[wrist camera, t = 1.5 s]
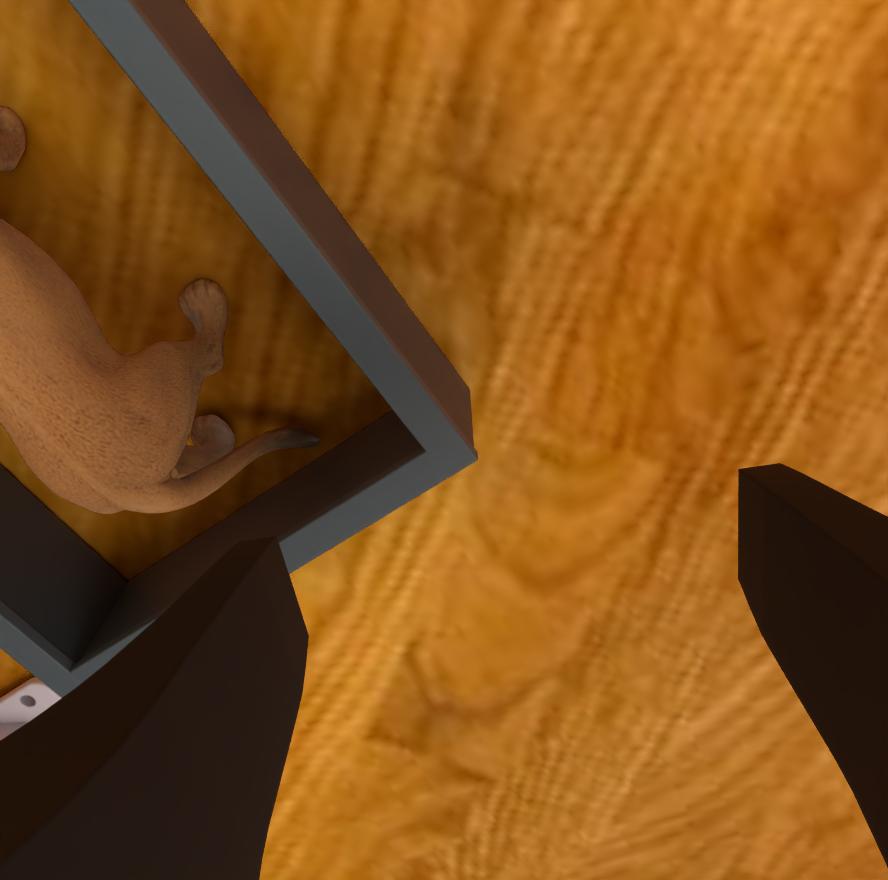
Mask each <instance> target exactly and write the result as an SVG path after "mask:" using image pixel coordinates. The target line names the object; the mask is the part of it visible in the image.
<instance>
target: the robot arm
mask: <svg viewBox="0 0 888 880" xmlns="http://www.w3.org/2000/svg"><path fill="white" fill-rule="evenodd" d="M738 579H739V582H740V584H741V587H742V589H743V592H744V594H745V597H746V599H747V602H748V604H749V607H750V609H751V611H752V614H753V616H754V618H755V621H756V623H757V625H758V627H759V630H760V632H761V634H762V636H763V638H764V640H765V641H766V643H767V645H768V647H769V648H770V650H771V652H772V654H773V655H774V657H775V659H776V660H777V662H778V664H779V666H780V667H781V669H782V671H783V672H784V674H785V676H786V678H787V679H788V681H789V683H790V684H791V686H792V688H793V689H794V691H795V693H796V694H797V696H798V698H799V699H800V701H801V703H802V704H803V706H804V708H805V709H806V711H807V713H808V714H809V716H810V718H811V719H812V721H813V723H814V725H815V726H816V728H817V730H818V731H819V733H820V735H821V736H822V738H823V740H824V741H825V743H826V745H827V746H828V748H829V750H830V751H831V753H832V755H833V756H834V758H835V760H836V762H837V763H838V765H839V767H840V769H841V771H842V773H843V775H844V776H845V778H846V780H847V782H848V784H849V786H850V788H851V789H852V791H853V793H854V796H855V798H856V800H857V802H858V804H859V806H860V808H861V811H862V813H863V815H864V817H865V819H866V821H867V824H868V826H869V828H870V830H871V832H872V834H873V836H874V839H875V841H876V843H877V845H878V847H879V849H880V852H881V854H882V856H883V858H884V860H885V862H886V865H887V867H888V517H887V516H885V515H883V514H881V513H879V512H877V511H875V510H873V509H871V508H869V507H867V506H865V505H863V504H861V503H859V502H857V501H855V500H853V499H851V498H849V497H847V496H845V495H843V494H842V493H840V492H838V491H836V490H834V489H832V488H830V487H828V486H826V485H824V484H822V483H820V482H818V481H816V480H814V479H812V478H810V477H808V476H807V475H805V474H803V473H800V472H798V471H796V470H794V469H792V468H790V467H788V466H785V465H783V464H780V463H778V464H771V465H764V466H757V467H750V468H743V469H739V491H738ZM308 637H309V635H308V632H307V629H306V626H305V623H304V620H303V616H302V613H301V610H300V607H299V604H298V601H297V598H296V595H295V591H294V588H293V585H292V582H291V579H290V576H289V573H288V570H287V567H286V563H285V560H284V557H283V554H282V551H281V548H280V545H279V542H278V538H277V536H271V537H264V538H257V539H250V540H244V541H239V542H238V543H237V544H235V545H234V546H233V547H232V548H231V549H230V550H228V551H227V552H226V553H225V554H224V555H223V556H222V557H221V558H220V559H219V560H218V561H216V562H215V563H214V564H213V565H212V566H211V567H210V568H209V569H208V570H207V571H206V572H205V573H204V574H203V575H202V576H201V577H200V578H199V579H198V580H197V581H196V582H195V583H194V584H193V585H192V586H191V587H190V588H188V589H187V590H186V591H185V592H184V593H183V594H182V595H181V596H180V597H179V598H178V599H177V600H176V601H175V602H174V603H173V604H172V605H171V606H170V607H169V608H168V609H166V610H165V611H164V612H163V613H162V614H161V615H160V616H159V617H158V618H157V619H156V620H155V621H154V622H153V623H151V624H150V625H149V626H148V627H147V628H146V629H145V630H143V631H142V632H141V633H140V634H139V635H138V636H137V637H136V638H134V639H133V640H132V641H131V642H130V643H129V644H128V645H126V646H125V647H124V648H123V649H122V650H121V651H120V652H118V653H117V654H116V655H115V656H114V657H113V658H112V659H111V660H109V661H108V662H107V663H106V664H105V665H103V666H102V667H101V668H100V669H99V670H97V671H96V672H95V673H94V674H92V675H91V676H90V677H89V678H87V679H86V680H85V681H84V682H82V683H81V684H80V685H79V686H77V687H76V688H75V689H73V690H72V691H71V692H69V693H68V694H67V695H65V696H64V697H62V698H61V697H60V696H59V695H58V694H56V693H55V692H54V691H53V690H51V689H50V688H49V687H48V686H47V685H45V684H44V683H43V682H42V681H40V680H39V679H38V678H37V677H34V678H31V679H30V680H28V681H26V682H25V683H23V684H22V685H20V686H18V687H17V688H15V689H14V690H12V691H10V692H9V693H7V694H6V695H4V696H3V697H1V698H0V880H259V877H260V870H261V863H262V857H263V852H264V847H265V842H266V838H267V833H268V828H269V824H270V820H271V816H272V812H273V808H274V804H275V800H276V796H277V793H278V789H279V785H280V781H281V777H282V773H283V769H284V765H285V761H286V757H287V754H288V750H289V746H290V742H291V738H292V734H293V730H294V726H295V722H296V718H297V714H298V710H299V705H300V701H301V697H302V692H303V684H304V676H305V668H306V658H307V648H308ZM30 696H31V697H30ZM32 697H33V698H32Z"/></svg>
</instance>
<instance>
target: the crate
mask: <svg viewBox="0 0 888 880" xmlns="http://www.w3.org/2000/svg"><path fill="white" fill-rule="evenodd" d="M68 1H69V2H70V3H71V5H72V6H73V7H74V9H75V10H76V11H77V12H78V14H79V15H80V16H81V17H82V19H83V20H84V21H85V22H86V24H87V25H88V26H89V27H90V29H91V30H92V31H93V32H94V34H95V35H96V36H97V38H98V39H99V40H100V41H101V43H102V44H103V45H104V46H105V48H106V49H107V50H108V51H109V53H110V54H111V55H112V56H113V58H114V59H115V60H116V61H117V63H118V64H119V65H120V67H121V68H122V69H123V70H124V72H125V73H126V74H127V75H128V77H129V78H130V79H131V80H132V82H133V83H134V84H135V85H136V87H137V88H138V89H139V90H140V92H141V93H142V94H143V96H144V97H145V98H146V99H147V101H148V102H149V103H150V104H151V106H152V107H153V108H154V109H155V111H156V112H157V113H158V114H159V116H160V117H161V118H162V119H163V121H164V122H165V123H166V124H167V126H168V127H169V128H170V130H171V131H172V132H173V133H174V135H175V136H176V137H177V138H178V140H179V141H180V142H181V143H182V145H183V146H184V147H185V148H186V150H187V151H188V152H189V153H190V155H191V156H192V157H193V159H194V160H195V161H196V162H197V164H198V165H199V166H200V167H201V169H202V170H203V171H204V172H205V174H206V175H207V176H208V177H209V179H210V180H211V181H212V182H213V184H214V185H215V186H216V188H217V189H218V190H219V191H220V193H221V194H222V195H223V196H224V198H225V199H226V200H227V201H228V203H229V204H230V205H231V206H232V208H233V209H234V210H235V211H236V213H237V214H238V215H239V217H240V218H241V219H242V220H243V222H244V223H245V224H246V225H247V227H248V228H249V229H250V230H251V232H252V233H253V234H254V235H255V237H256V238H257V239H258V240H259V242H260V243H261V244H262V246H263V247H264V248H265V249H266V251H267V252H268V253H269V254H270V256H271V257H272V258H273V259H274V261H275V262H276V263H277V264H278V266H279V267H280V268H281V269H282V271H283V272H284V273H285V275H286V276H287V277H288V278H289V280H290V281H291V282H292V283H293V285H294V286H295V287H296V288H297V290H298V291H299V292H300V293H301V295H302V296H303V297H304V298H305V300H306V301H307V302H308V303H309V305H310V306H311V307H312V309H313V310H314V311H315V312H316V314H317V315H318V316H319V317H320V319H321V320H322V321H323V322H324V324H325V325H326V326H327V327H328V329H329V330H330V331H331V332H332V334H333V335H334V336H335V338H336V339H337V340H338V341H339V343H340V344H341V345H342V346H343V348H344V349H345V350H346V351H347V353H348V354H349V355H350V356H351V358H352V359H353V360H354V361H355V363H356V364H357V365H358V367H359V368H360V369H361V370H362V372H363V373H364V374H365V375H366V377H367V378H368V379H369V380H370V382H371V383H372V384H373V385H374V387H375V388H376V389H377V390H378V392H379V393H380V394H381V396H382V397H383V398H384V399H385V401H386V402H387V403H388V404H389V406H390V407H391V408H392V409H393V410H392V411H390V412H389V413H387V414H385V415H384V416H382V417H381V418H379V419H378V420H376V421H375V422H373V423H372V424H370V425H368V426H367V427H365V428H364V429H362V430H361V431H359V432H358V433H356V434H355V435H353V436H351V437H350V438H348V439H347V440H345V441H344V442H342V443H341V444H339V445H338V446H336V447H334V448H333V449H331V450H330V451H328V452H327V453H325V454H324V455H322V456H321V457H319V458H317V459H316V460H314V461H313V462H311V463H310V464H308V465H307V466H305V467H304V468H302V469H300V470H299V471H297V472H296V473H294V474H293V475H291V476H290V477H288V478H287V479H285V480H283V481H282V482H280V483H279V484H277V485H276V486H274V487H273V488H271V489H270V490H268V491H266V492H265V493H263V494H262V495H260V496H259V497H257V498H256V499H254V500H253V501H251V502H249V503H248V504H246V505H245V506H243V507H242V508H240V509H239V510H237V511H236V512H234V513H232V514H231V515H229V516H228V517H226V518H225V519H223V520H222V521H220V522H219V523H217V524H215V525H214V526H212V527H211V528H209V529H208V530H206V531H205V532H203V533H202V534H200V535H198V536H197V537H195V538H194V539H192V540H191V541H189V542H188V543H186V544H185V545H183V546H181V547H180V548H178V549H177V550H175V551H174V552H172V553H171V554H169V555H168V556H166V557H164V558H163V559H161V560H160V561H158V562H157V563H155V564H154V565H152V566H151V567H149V568H147V569H146V570H144V571H143V572H141V573H140V574H138V575H137V576H135V577H134V578H132V579H130V580H129V581H128V582H127V581H126V580H125V579H124V578H123V577H122V576H120V575H119V574H118V573H117V572H116V571H115V570H114V569H113V568H112V567H111V566H110V565H109V564H107V563H106V562H105V561H104V560H103V559H102V558H101V557H100V556H99V555H98V554H97V553H96V552H94V551H93V550H92V549H91V548H90V547H89V546H88V545H87V544H86V543H85V542H84V541H83V540H81V539H80V538H79V537H78V536H77V535H76V534H75V533H74V532H73V531H72V530H71V529H70V528H68V527H67V526H66V525H65V524H64V523H63V522H62V521H61V520H60V519H59V518H58V517H57V516H55V515H54V514H53V513H52V512H51V511H50V510H49V509H48V508H47V507H46V506H45V505H44V504H42V503H41V502H40V501H39V500H38V499H37V498H36V497H35V496H34V495H33V494H32V493H31V492H29V491H28V490H27V489H26V488H25V487H24V486H23V485H22V484H21V483H20V482H19V481H18V480H16V479H15V478H14V477H13V476H12V475H11V474H10V473H9V472H8V471H7V470H6V469H5V468H3V467H2V466H1V465H0V648H1V649H2V650H3V651H5V652H6V653H7V654H8V655H10V656H11V657H12V658H13V659H14V660H16V661H17V662H18V663H19V664H21V665H22V666H23V667H24V668H26V669H27V670H28V671H29V672H30V673H32V674H33V675H34V676H35V677H37V678H38V679H39V680H40V681H42V682H43V683H44V684H45V685H47V686H48V687H49V688H50V689H51V690H53V691H54V692H55V693H56V694H58V695H59V696H60V697H61V698H62V697H64V696H65V695H67V694H68V693H69V692H71V691H72V690H73V689H75V688H76V687H77V686H79V685H80V684H81V683H82V682H84V681H85V680H86V679H87V678H89V677H90V676H91V675H92V674H94V673H95V672H96V671H97V670H99V669H100V668H101V667H102V666H103V665H105V664H106V663H107V662H108V661H109V660H111V659H112V658H113V657H114V656H115V655H116V654H117V653H118V652H120V651H121V650H122V649H123V648H124V647H125V646H126V645H128V644H129V643H130V642H131V641H132V640H133V639H134V638H136V637H137V636H138V635H139V634H140V633H141V632H142V631H143V630H145V629H146V628H147V627H148V626H149V625H150V624H151V623H153V622H154V621H155V620H156V619H157V618H158V617H159V616H160V615H161V614H162V613H163V612H164V611H165V610H166V609H168V608H169V607H170V606H171V605H172V604H173V603H174V602H175V601H176V600H177V599H178V598H179V597H180V596H181V595H182V594H183V593H184V592H185V591H186V590H187V589H188V588H190V587H191V586H192V585H193V584H194V583H195V582H196V581H197V580H198V579H199V578H200V577H201V576H202V575H203V574H204V573H205V572H206V571H207V570H208V569H209V568H210V567H211V566H212V565H213V564H214V563H215V562H216V561H218V560H219V559H220V558H221V557H222V556H223V555H224V554H225V553H226V552H227V551H228V550H230V549H231V548H232V547H233V546H234V545H235V544H237V543H238V542H239V541H244V540H250V539H257V538H264V537H271V536H277V538H278V542H279V545H280V548H281V551H282V554H283V557H284V560H285V563H286V567H287V570H288V573H289V574H290V573H291V572H293V571H295V570H296V569H298V568H300V567H301V566H303V565H305V564H306V563H308V562H310V561H311V560H313V559H315V558H316V557H318V556H320V555H321V554H323V553H325V552H326V551H328V550H330V549H331V548H333V547H334V546H336V545H338V544H339V543H341V542H343V541H344V540H346V539H348V538H349V537H351V536H353V535H354V534H356V533H358V532H359V531H361V530H363V529H364V528H366V527H368V526H369V525H371V524H373V523H374V522H376V521H378V520H379V519H381V518H382V517H384V516H386V515H387V514H389V513H391V512H392V511H394V510H396V509H397V508H399V507H401V506H402V505H404V504H406V503H407V502H409V501H411V500H412V499H414V498H416V497H417V496H419V495H421V494H422V493H424V492H426V491H427V490H429V489H430V488H432V487H434V486H435V485H437V484H439V483H440V482H442V481H444V480H445V479H447V478H449V477H450V476H452V475H454V474H455V473H457V472H459V471H460V470H462V469H464V468H465V467H467V466H469V465H470V464H472V463H474V462H475V461H477V460H478V453H477V451H476V450H475V448H474V442H473V428H472V414H471V400H470V389H469V388H468V386H467V385H466V384H465V382H464V381H463V380H462V378H461V377H460V376H459V374H458V373H457V371H456V370H455V369H454V367H453V366H452V365H451V363H450V362H449V361H448V359H447V358H446V357H445V355H444V354H443V352H442V351H441V350H440V348H439V347H438V346H437V344H436V343H435V342H434V340H433V339H432V337H431V336H430V335H429V333H428V332H427V331H426V329H425V328H424V327H423V325H422V324H421V322H420V321H419V320H418V318H417V317H416V316H415V314H414V313H413V312H412V310H411V309H410V307H409V306H408V305H407V303H406V302H405V301H404V299H403V298H402V297H401V295H400V294H399V293H398V291H397V290H396V288H395V287H394V286H393V284H392V283H391V282H390V280H389V279H388V278H387V276H386V275H385V273H384V272H383V271H382V269H381V268H380V267H379V265H378V264H377V263H376V261H375V260H374V258H373V257H372V256H371V254H370V253H369V252H368V250H367V249H366V248H365V246H364V245H363V243H362V242H361V241H360V239H359V238H358V237H357V235H356V234H355V233H354V231H353V230H352V229H351V227H350V226H349V224H348V223H347V222H346V220H345V219H344V218H343V216H342V215H341V214H340V212H339V211H338V209H337V208H336V207H335V205H334V204H333V203H332V201H331V200H330V199H329V197H328V196H327V194H326V193H325V192H324V190H323V189H322V188H321V186H320V185H319V184H318V182H317V181H316V179H315V178H314V177H313V175H312V174H311V173H310V171H309V170H308V169H307V167H306V166H305V165H304V163H303V162H302V160H301V159H300V158H299V156H298V155H297V154H296V152H295V151H294V150H293V148H292V147H291V145H290V144H289V143H288V141H287V140H286V139H285V137H284V136H283V135H282V133H281V132H280V130H279V129H278V128H277V126H276V125H275V124H274V122H273V121H272V120H271V118H270V117H269V115H268V114H267V113H266V111H265V110H264V109H263V107H262V106H261V105H260V103H259V102H258V101H257V99H256V98H255V96H254V95H253V94H252V92H251V91H250V90H249V88H248V87H247V86H246V84H245V83H244V81H243V80H242V79H241V77H240V76H239V75H238V73H237V72H236V71H235V69H234V68H233V66H232V65H231V64H230V62H229V61H228V60H227V58H226V57H225V56H224V54H223V53H222V51H221V50H220V49H219V47H218V46H217V45H216V43H215V42H214V41H213V39H212V38H211V37H210V35H209V34H208V32H207V31H206V30H205V28H204V27H203V26H202V24H201V23H200V22H199V20H198V19H197V17H196V16H195V15H194V13H193V12H192V11H191V9H190V8H189V7H188V5H187V4H186V2H185V1H184V0H68Z"/></svg>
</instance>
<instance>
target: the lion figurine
mask: <svg viewBox="0 0 888 880" xmlns="http://www.w3.org/2000/svg"><path fill="white" fill-rule="evenodd" d="M25 148H26V139H25V131H24V127H23V124H22V122H21V120H20V118H19V117H18V116H17V115H16V113H15V112H14V111H13V110H11V109H10V108H8V107H2V106H0V171H11V170H13V169H15V168H16V166H17V164H18V162H19V159H20V158H21V156H22V154H23V152H24V150H25ZM179 304H180V308H181V310H182V312H183V313H184V314H185V316H186V317H187V318H188V319H189V320H190V321H191V322H192V324H193V325H194V327H195V329H196V334H195V337H194V338H193V339H191V340H182V341H159V342H156V343H153V344H151V345H149V346H148V347H146V348H145V349H143V350H142V351H140V352H137V353H135V354H132V355H122V354H119V353H117V352H116V351H115V350H114V349H113V348H112V347H111V346H110V345H109V344H108V342H107V341H106V340H105V338H104V336H103V334H102V331H101V328H100V326H99V325H98V323H97V321H96V319H95V317H94V315H93V313H92V311H91V309H90V308H89V306H88V304H87V303H86V301H85V299H84V298H83V296H82V294H81V292H80V291H79V289H78V287H77V286H76V284H75V283H74V282H73V281H72V280H71V279H70V277H69V276H68V275H67V274H66V273H65V272H64V271H63V270H62V269H61V267H60V266H59V265H58V264H57V263H56V262H55V261H54V260H53V259H52V258H51V257H50V256H49V255H48V254H47V253H46V252H45V251H43V250H42V249H41V248H40V247H39V246H38V245H37V244H36V243H34V242H33V241H32V240H31V239H29V238H28V237H27V236H26V235H24V234H23V233H21V232H20V231H18V230H17V229H16V228H14V227H13V226H11V225H10V224H8V223H7V222H5V221H4V220H3V219H1V218H0V423H1V424H2V425H3V427H4V428H5V430H6V431H7V433H8V434H9V436H10V437H11V439H12V440H13V442H14V444H15V445H16V447H17V449H18V450H19V452H20V454H21V455H22V457H23V459H24V461H25V462H26V464H27V465H28V466H29V468H30V469H31V470H32V471H33V473H34V474H35V475H36V476H37V477H38V478H39V479H40V480H41V481H42V482H43V483H44V484H45V485H46V486H47V487H48V488H49V489H50V490H51V491H52V492H53V493H55V494H56V495H58V496H59V497H61V498H63V499H64V500H67V501H69V502H71V503H74V504H76V505H78V506H80V507H83V508H85V509H88V510H91V511H94V512H97V513H100V514H113V513H117V512H119V511H122V510H124V509H125V510H128V511H134V512H140V513H164V512H170V511H174V510H178V509H182V508H185V507H187V506H190V505H193V504H195V503H197V502H199V501H201V500H202V499H204V498H206V497H207V496H209V495H210V494H212V493H213V492H215V491H216V490H217V489H219V488H220V487H221V486H223V485H224V484H225V483H226V482H227V481H229V480H230V479H231V478H232V477H234V476H235V475H236V474H237V473H238V472H240V471H241V470H242V469H243V468H244V467H245V466H247V465H248V464H249V463H251V462H252V461H253V460H255V459H256V458H258V457H260V456H262V455H264V454H267V453H270V452H272V451H274V450H277V449H283V448H287V449H293V448H297V447H313V446H317V445H318V443H319V442H320V438H319V437H318V436H315V435H314V434H312V433H311V432H309V431H308V430H307V429H305V428H304V427H300V426H291V427H283V428H280V429H275V430H272V431H267V432H265V433H264V434H262V435H260V436H258V437H256V438H255V439H253V440H251V441H249V442H247V443H245V444H243V445H242V446H240V447H238V448H237V449H235V450H234V448H235V437H234V434H233V432H232V430H231V428H230V427H229V425H228V424H227V423H226V422H225V421H223V420H222V419H221V418H219V417H218V416H216V415H206V416H199V417H197V418H195V419H194V416H195V412H196V407H197V402H198V396H199V392H200V388H201V384H202V382H203V380H204V379H205V378H207V377H208V376H211V375H213V374H215V373H217V372H219V371H220V370H221V369H222V367H223V364H224V332H225V328H226V325H227V318H228V306H227V302H226V299H225V295H224V293H223V292H222V290H221V288H220V287H219V286H218V285H217V284H216V283H215V282H212V281H209V280H205V279H198V280H195V281H194V282H192V283H191V284H190V285H188V286H187V287H186V289H185V290H184V291H183V293H182V294H181V295H180V298H179ZM193 419H194V420H193ZM190 431H191V434H190ZM189 434H190V436H191V439H192V441H193V443H194V445H195V446H190V445H186V442H187V439H188V437H189ZM179 478H180V479H179Z"/></svg>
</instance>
